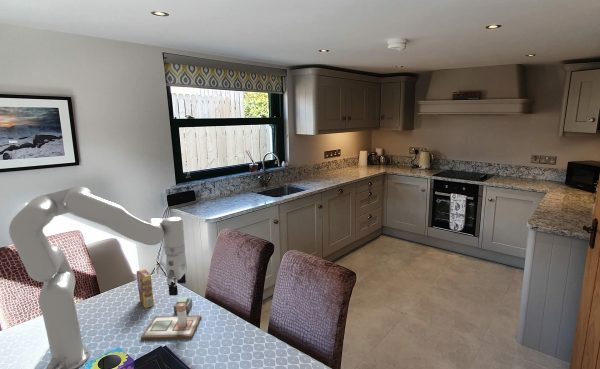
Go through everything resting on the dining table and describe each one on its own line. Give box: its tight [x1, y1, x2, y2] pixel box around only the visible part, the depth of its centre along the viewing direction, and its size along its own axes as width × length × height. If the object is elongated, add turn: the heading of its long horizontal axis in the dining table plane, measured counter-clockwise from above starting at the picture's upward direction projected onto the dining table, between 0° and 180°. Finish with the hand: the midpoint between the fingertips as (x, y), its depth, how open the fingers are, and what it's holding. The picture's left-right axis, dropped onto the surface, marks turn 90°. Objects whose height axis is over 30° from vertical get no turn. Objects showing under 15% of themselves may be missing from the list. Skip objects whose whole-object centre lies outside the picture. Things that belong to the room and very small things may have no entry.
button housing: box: [173, 297, 193, 314], centre depth 157 cm, size 6×6×4 cm
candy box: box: [136, 268, 155, 309], centre depth 162 cm, size 9×4×15 cm, turn 39°
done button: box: [176, 296, 189, 305], centre depth 156 cm, size 4×4×2 cm
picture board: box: [140, 314, 202, 341], centre depth 143 cm, size 14×20×1 cm
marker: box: [176, 303, 188, 328], centre depth 142 cm, size 4×4×9 cm
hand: (177, 288), depth 140 cm, fingers open, 9 cm apart
